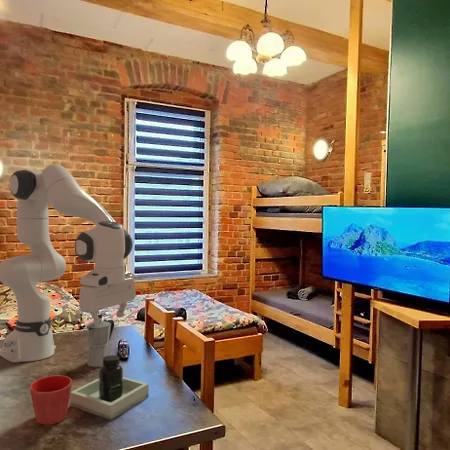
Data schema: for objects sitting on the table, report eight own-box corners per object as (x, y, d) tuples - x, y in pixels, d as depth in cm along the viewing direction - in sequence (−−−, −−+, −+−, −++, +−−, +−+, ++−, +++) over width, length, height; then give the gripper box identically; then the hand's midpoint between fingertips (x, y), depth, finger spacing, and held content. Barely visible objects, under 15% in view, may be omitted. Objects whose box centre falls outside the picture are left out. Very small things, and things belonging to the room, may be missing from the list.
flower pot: (29, 431, 108) (29, 394, 107) (30, 411, 118) (30, 378, 117) (73, 423, 112) (73, 388, 111) (70, 405, 122) (70, 372, 122)
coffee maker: (97, 371, 147) (97, 320, 146) (77, 367, 150) (77, 317, 149) (122, 356, 161) (122, 310, 160) (104, 353, 164) (104, 308, 163)
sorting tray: (70, 405, 122) (70, 392, 122) (109, 385, 136) (109, 372, 136) (110, 419, 114) (110, 405, 114) (148, 396, 128) (148, 383, 128)
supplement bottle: (116, 403, 121) (116, 363, 121) (94, 401, 122) (94, 361, 122) (126, 393, 128) (126, 354, 127) (105, 390, 129) (105, 352, 129)
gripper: (125, 269, 136) (125, 311, 137) (75, 279, 119) (75, 327, 120) (140, 271, 133) (139, 314, 134) (91, 282, 116) (91, 331, 116)
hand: (109, 320), depth 127 cm, fingers open, 8 cm apart
